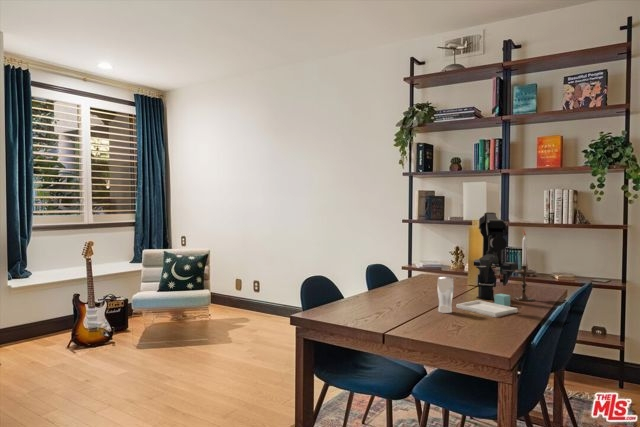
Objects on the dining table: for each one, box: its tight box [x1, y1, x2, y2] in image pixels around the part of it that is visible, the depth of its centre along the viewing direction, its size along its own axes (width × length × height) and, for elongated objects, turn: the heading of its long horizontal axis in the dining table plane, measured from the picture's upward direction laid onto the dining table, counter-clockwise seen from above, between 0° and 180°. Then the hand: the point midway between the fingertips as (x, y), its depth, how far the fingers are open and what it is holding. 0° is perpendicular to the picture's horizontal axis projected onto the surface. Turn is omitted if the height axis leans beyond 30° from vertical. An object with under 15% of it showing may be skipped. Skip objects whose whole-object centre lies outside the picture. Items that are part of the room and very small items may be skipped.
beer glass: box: [436, 276, 455, 314], centre depth 197 cm, size 7×7×15 cm
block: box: [493, 293, 511, 307], centre depth 210 cm, size 5×5×5 cm
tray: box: [456, 299, 518, 318], centre depth 200 cm, size 20×16×2 cm
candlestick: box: [512, 229, 537, 302], centre depth 224 cm, size 11×11×35 cm
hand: (494, 284), depth 196 cm, fingers open, 9 cm apart
